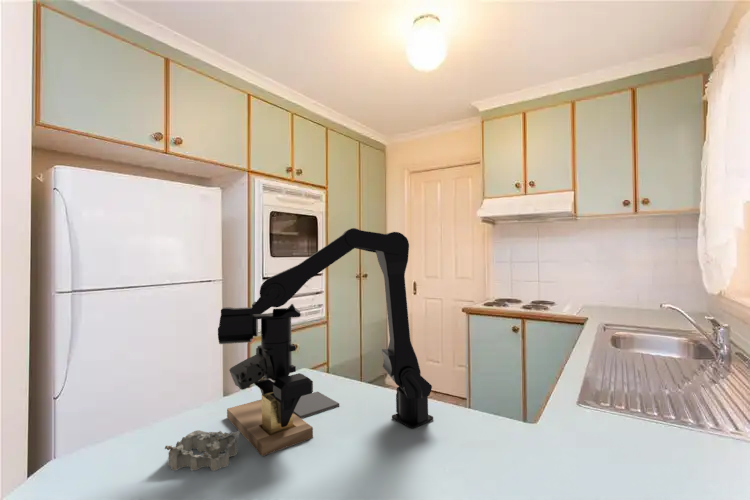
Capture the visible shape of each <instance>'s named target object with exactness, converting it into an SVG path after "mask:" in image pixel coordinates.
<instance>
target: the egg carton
mask: <svg viewBox="0 0 750 500" xmlns="http://www.w3.org/2000/svg"><path fill="white" fill-rule="evenodd" d="M240 434H241V432H240V431H239V430H237V431H235V432H233V431H231V432H227V431H226V432H224V433H223V432H222V431H221V430H219V431H216V432H215V431H209V432H207V431H203V430H194V431H192V432H190V433H188V434H186V435H185V436H183V437H182V438H181V440H180V441H177V442H176V443H175V446H173V445H165V447H164V450H167V451H168V457H167V459H168V460H167V461H168V465H167V466H168V467H171V468H170V469H171V471H177V470H179V469H182V468H184V467H190V471H197V470H200V469H201V468H205V467H208V468H210V471H218V470H219V469H221V468H224V467H228V466H229V465H230V457H234V456H236V455H237V454H238V451H239V450H238V442H239V441H238V439H239V435H240ZM194 449H197V453H198V452H199V453H203V454H194V452H193V450H194Z"/></svg>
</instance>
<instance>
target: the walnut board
mask: <svg viewBox="0 0 750 500" xmlns="http://www.w3.org/2000/svg"><path fill="white" fill-rule="evenodd" d="M226 418H227V420H229V422H230V423H231V424H232V425H233V426H234V427H235V429H236V430H237V431H240V434H241V435H242V436H243V437H244V438H245V439H246V441H248V442H249V444H251V446H252V447H253V448H254V449H255V450H256V451H257V452H258V453H259V454H260V455H261V457H265V456H267V455H270V454H272V453H277V452H278V451H280V450H284V449H286V448H290V447H292V446H294V445H297V444H300V443H303V442H305V441H308V440H309V439H313V438H314V431H313V430H314V428H313V426H312V425H310V424H309V423H307V421H305V420H304V419H303V418H299V417H298V416H297V415H295V414H294V413H293V428H291V429H288V430H285V431H282V432H279V433H276V434H273V435H270V436H269V435H268V434H267V433H266V432H265V431H264V430H263V429H262V398H261V399H259V400H255V401H250V402H246V403H243V404H239V405H236V406H232V407H228V408H226Z"/></svg>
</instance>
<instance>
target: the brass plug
mask: <svg viewBox="0 0 750 500" xmlns="http://www.w3.org/2000/svg"><path fill="white" fill-rule="evenodd" d="M272 393H274V392H271V393H267V394H263V395H262V394H261V399H262V429H263V430H264V431H265V432H266V433H267V434H268V435H269V436H270V435H273V434H276V433H279V432H282V431H285V430H288V429H291V428H293V414H292V416H291V418H290V420H289V423H288V425H287V426H285V427H281V423H280V418H279V411H278V404H277V400H275V399H274V398H273V397H272V396H270V394H272Z"/></svg>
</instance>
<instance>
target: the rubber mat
mask: <svg viewBox="0 0 750 500" xmlns="http://www.w3.org/2000/svg"><path fill="white" fill-rule="evenodd" d="M338 407H340V403H339V402H338V401H335V400H334V399H332V398H330V397H329V396H327V395H325V394H323V393H322V392H320V391H315V392H314V391H313V392H312V393H311V394H307V395H304V396H301V398H300V399H299V401H298V403H297V405H296V407H295V409H294V412H293V413H294V414H295V415H297V416H298V417H299V418H301V419H304V418H307V417H310V416H313V415H317V414H319V413H322V412H325V411H329V410H332V409H335V408H338Z"/></svg>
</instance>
